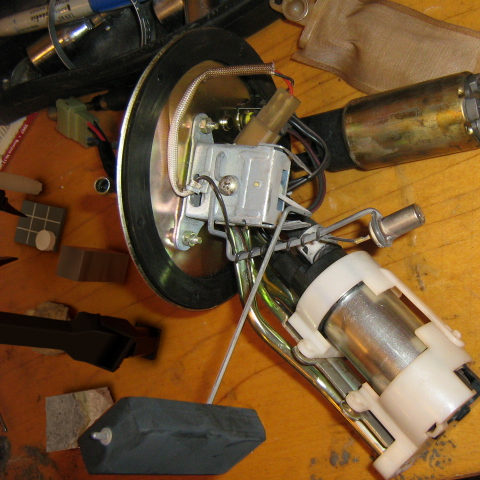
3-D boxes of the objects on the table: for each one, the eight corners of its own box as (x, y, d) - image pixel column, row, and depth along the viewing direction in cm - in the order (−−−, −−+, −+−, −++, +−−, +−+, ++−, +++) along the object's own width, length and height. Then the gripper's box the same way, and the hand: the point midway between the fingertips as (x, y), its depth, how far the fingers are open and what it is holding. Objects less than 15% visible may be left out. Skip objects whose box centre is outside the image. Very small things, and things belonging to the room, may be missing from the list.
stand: (130, 254, 97) (84, 250, 86) (123, 282, 97) (77, 281, 86) (109, 249, 99) (62, 244, 89) (103, 276, 99) (55, 275, 89)
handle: (29, 180, 111) (-39, 164, 97) (48, 176, 109) (-19, 159, 95) (28, 199, 110) (-40, 186, 96) (47, 196, 108) (-20, 182, 94)
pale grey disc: (57, 232, 104) (51, 231, 103) (53, 252, 104) (47, 252, 103) (43, 229, 106) (38, 228, 104) (39, 248, 106) (33, 248, 104)
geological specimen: (40, 398, 96) (90, 388, 90) (67, 393, 101) (115, 383, 95) (43, 453, 93) (94, 446, 88) (70, 444, 99) (120, 437, 93)
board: (67, 209, 105) (62, 208, 104) (57, 252, 105) (53, 251, 104) (26, 200, 111) (22, 199, 109) (17, 241, 110) (12, 240, 109)
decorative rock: (30, 351, 106) (80, 354, 101) (13, 354, 102) (64, 358, 97) (31, 301, 106) (81, 302, 101) (14, 302, 102) (65, 303, 97)
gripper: (-75, 173, 88) (6, 190, 102) (-97, 269, 88) (-12, 272, 102) (-39, 181, 84) (40, 197, 98) (-62, 281, 83) (21, 282, 98)
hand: (21, 237), depth 99 cm, fingers open, 9 cm apart
